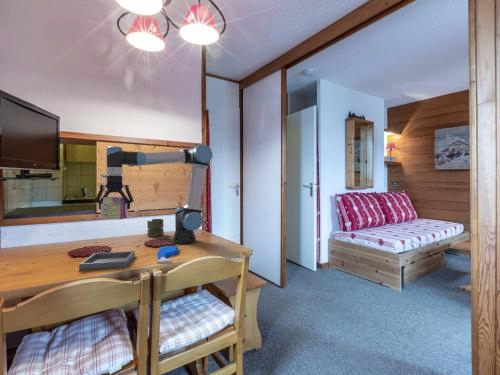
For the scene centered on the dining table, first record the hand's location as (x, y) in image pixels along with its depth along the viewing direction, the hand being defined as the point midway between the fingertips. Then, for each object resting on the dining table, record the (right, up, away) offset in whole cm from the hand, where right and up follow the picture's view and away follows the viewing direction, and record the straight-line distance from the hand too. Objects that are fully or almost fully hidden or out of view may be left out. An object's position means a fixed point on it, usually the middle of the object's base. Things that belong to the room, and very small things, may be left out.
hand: (114, 215), depth 138 cm
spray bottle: (+28, -23, +2) cm, 36 cm away
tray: (+3, -23, -10) cm, 25 cm away
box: (0, -2, 0) cm, 2 cm away
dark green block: (+3, -21, +52) cm, 56 cm away
